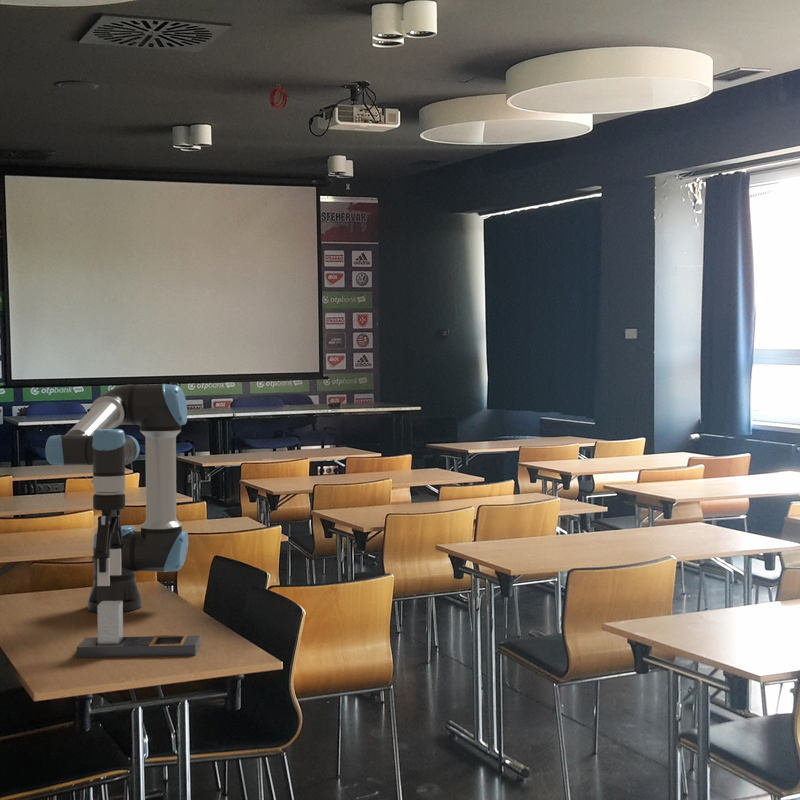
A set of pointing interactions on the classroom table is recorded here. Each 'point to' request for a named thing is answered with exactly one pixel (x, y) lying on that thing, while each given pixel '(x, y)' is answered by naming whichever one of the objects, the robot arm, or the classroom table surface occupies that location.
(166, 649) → the peg insertion base
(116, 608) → the square gray post
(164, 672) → the classroom table surface
